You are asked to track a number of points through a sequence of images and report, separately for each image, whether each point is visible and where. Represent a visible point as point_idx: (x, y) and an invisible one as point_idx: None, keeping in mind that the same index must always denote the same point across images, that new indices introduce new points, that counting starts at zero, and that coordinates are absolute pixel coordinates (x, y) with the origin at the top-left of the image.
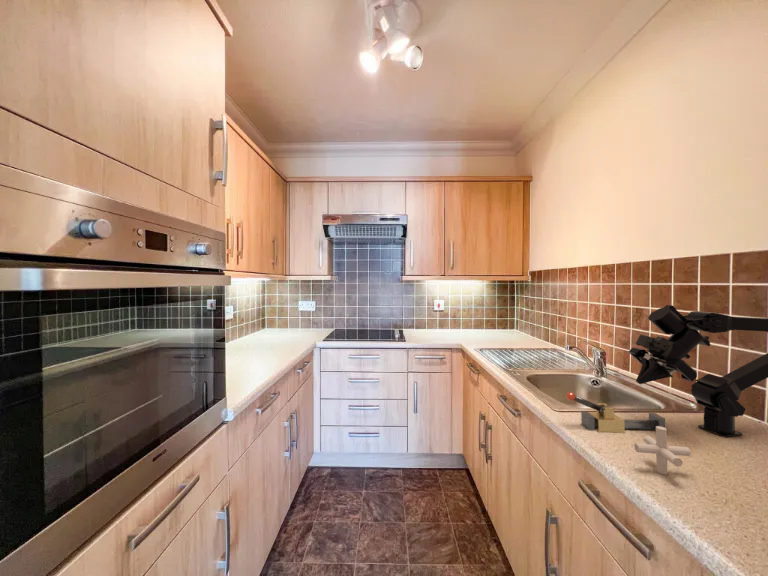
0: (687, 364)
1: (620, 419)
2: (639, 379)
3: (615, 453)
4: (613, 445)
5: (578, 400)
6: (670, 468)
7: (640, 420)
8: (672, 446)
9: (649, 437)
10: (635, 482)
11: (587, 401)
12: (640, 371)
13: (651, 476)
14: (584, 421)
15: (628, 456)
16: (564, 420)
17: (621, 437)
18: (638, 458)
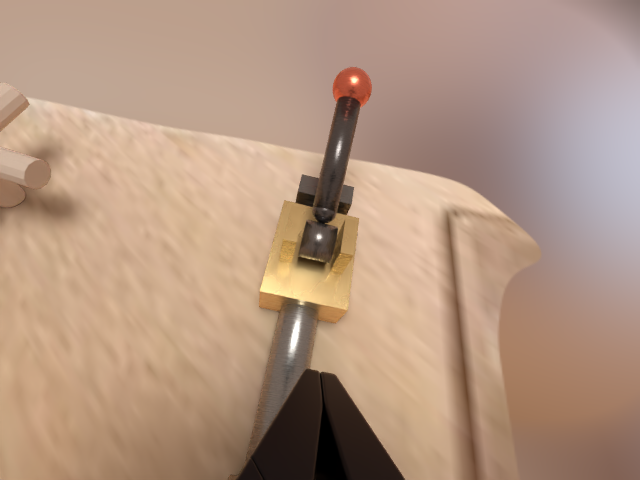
0: None
1: (271, 281)
2: (302, 382)
3: (146, 167)
4: (188, 197)
5: (334, 113)
6: (8, 237)
7: (276, 404)
8: None
9: (14, 158)
10: None
11: (331, 147)
12: (392, 476)
13: None
14: None
15: (118, 185)
16: (372, 188)
17: (228, 264)
18: (97, 201)
